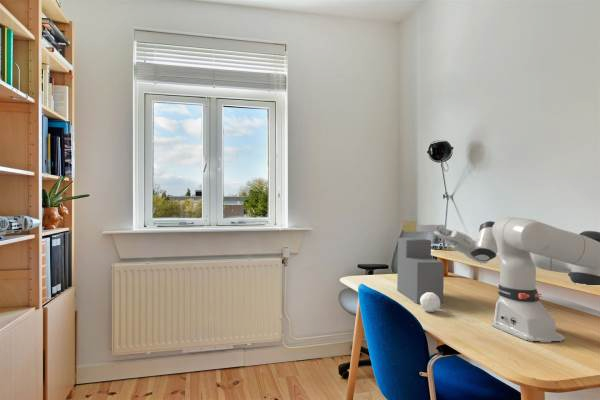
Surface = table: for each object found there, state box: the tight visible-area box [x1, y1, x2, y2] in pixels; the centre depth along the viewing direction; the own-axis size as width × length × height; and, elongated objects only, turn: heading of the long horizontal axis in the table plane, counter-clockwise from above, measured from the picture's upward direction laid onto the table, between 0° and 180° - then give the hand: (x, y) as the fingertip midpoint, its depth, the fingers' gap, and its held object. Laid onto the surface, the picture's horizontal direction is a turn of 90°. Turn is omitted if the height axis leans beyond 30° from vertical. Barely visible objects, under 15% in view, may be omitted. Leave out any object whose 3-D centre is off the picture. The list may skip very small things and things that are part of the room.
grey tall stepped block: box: [396, 237, 445, 305], centre depth 167 cm, size 22×12×26 cm, turn 7°
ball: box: [419, 292, 441, 313], centre depth 145 cm, size 8×8×8 cm
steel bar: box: [401, 220, 447, 233], centre depth 173 cm, size 5×20×5 cm, turn 97°
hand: (436, 227), depth 174 cm, fingers closed on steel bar, 3 cm apart
